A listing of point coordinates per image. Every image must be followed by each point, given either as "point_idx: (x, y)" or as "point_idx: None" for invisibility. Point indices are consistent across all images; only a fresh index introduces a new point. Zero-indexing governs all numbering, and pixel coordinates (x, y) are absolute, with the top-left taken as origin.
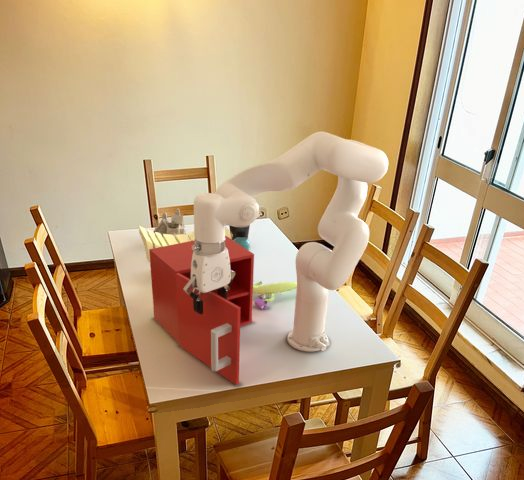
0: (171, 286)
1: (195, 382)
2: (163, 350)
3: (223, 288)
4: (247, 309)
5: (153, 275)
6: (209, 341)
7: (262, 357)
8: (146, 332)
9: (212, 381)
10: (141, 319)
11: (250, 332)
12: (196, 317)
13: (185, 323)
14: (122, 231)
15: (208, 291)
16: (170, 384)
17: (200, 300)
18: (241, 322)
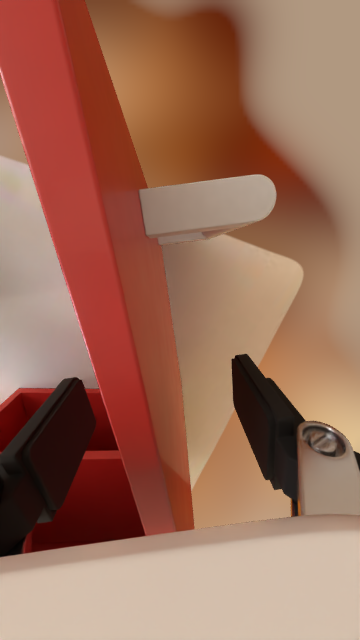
0: None
1: (219, 273)
2: (210, 386)
3: (6, 505)
4: (3, 417)
5: None
6: (169, 321)
7: (52, 274)
8: (205, 438)
9: (190, 257)
10: (192, 468)
11: (35, 362)
12: (178, 402)
13: (182, 411)
14: None
15: (315, 530)
16: (259, 293)
17: (287, 429)
18: (38, 395)
